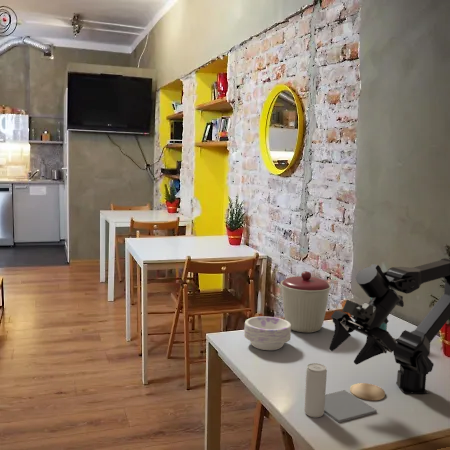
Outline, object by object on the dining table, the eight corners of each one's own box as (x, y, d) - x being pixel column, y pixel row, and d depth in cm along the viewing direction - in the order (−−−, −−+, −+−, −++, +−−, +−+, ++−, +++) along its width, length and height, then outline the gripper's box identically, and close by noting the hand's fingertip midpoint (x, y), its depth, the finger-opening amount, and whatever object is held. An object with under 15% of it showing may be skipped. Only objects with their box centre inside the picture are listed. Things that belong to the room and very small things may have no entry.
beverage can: (310, 406, 133) (313, 361, 131) (327, 413, 130) (330, 366, 128) (300, 413, 129) (303, 367, 127) (317, 420, 126) (320, 372, 124)
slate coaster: (344, 392, 141) (344, 390, 141) (376, 412, 131) (376, 410, 131) (308, 400, 136) (308, 398, 136) (338, 422, 125) (338, 420, 125)
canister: (339, 331, 189) (343, 274, 186) (301, 340, 179) (304, 279, 176) (305, 317, 204) (308, 264, 201) (268, 324, 194) (271, 268, 191)
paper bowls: (279, 336, 183) (280, 313, 182) (297, 352, 169) (298, 328, 167) (238, 339, 179) (238, 316, 178) (252, 356, 164) (253, 331, 163)
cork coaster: (379, 385, 146) (379, 383, 146) (389, 400, 137) (389, 398, 137) (346, 384, 146) (346, 382, 146) (355, 400, 137) (355, 398, 137)
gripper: (338, 280, 139) (302, 325, 136) (391, 298, 123) (351, 351, 119) (359, 305, 144) (325, 350, 140) (412, 327, 128) (375, 378, 124)
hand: (342, 356), depth 131 cm, fingers open, 9 cm apart
